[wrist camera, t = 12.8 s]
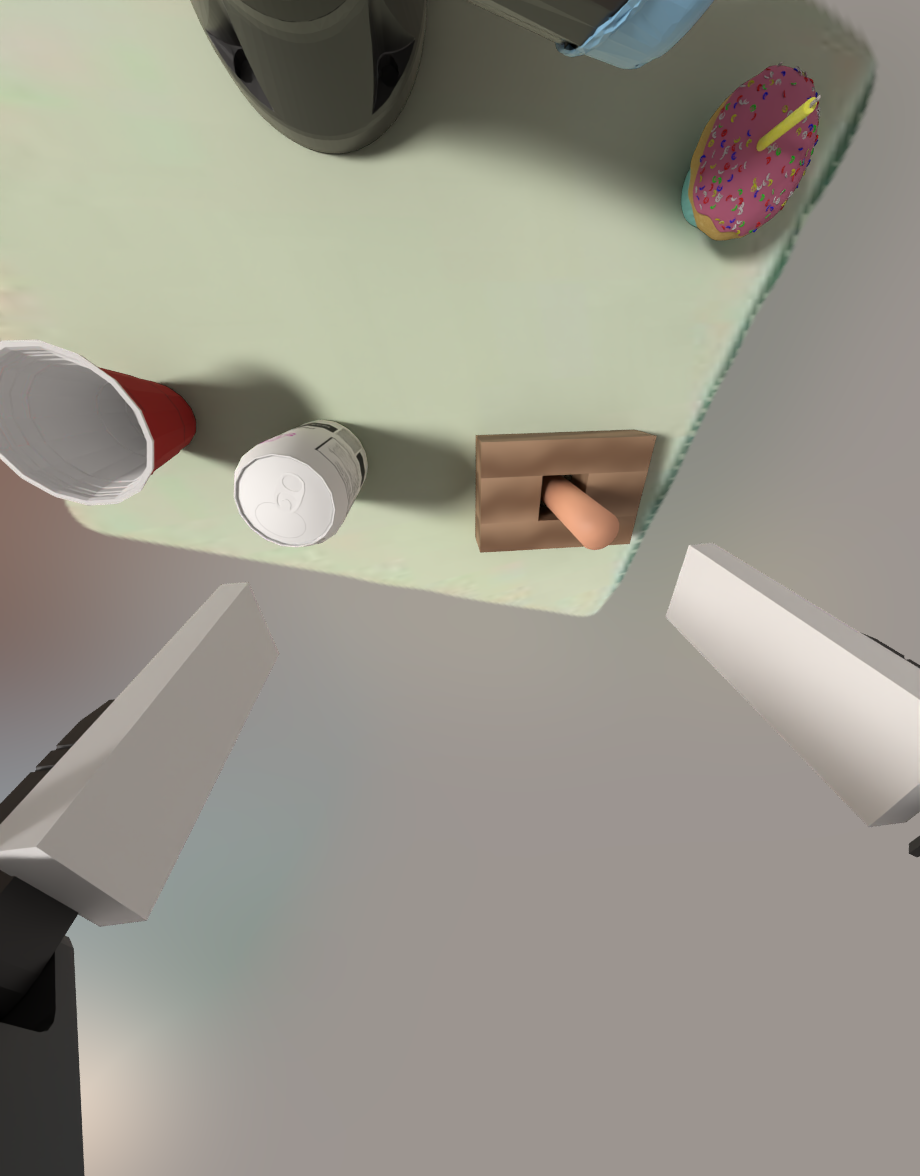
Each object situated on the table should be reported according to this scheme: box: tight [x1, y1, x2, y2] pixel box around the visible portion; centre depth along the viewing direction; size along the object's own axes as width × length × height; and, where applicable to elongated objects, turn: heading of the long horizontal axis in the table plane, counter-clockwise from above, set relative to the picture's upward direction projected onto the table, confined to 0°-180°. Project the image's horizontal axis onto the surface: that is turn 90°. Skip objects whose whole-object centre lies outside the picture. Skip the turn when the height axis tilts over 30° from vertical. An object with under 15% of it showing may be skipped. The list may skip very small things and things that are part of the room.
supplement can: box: [234, 420, 368, 547], centre depth 32 cm, size 8×8×15 cm
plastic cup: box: [0, 340, 196, 505], centre depth 30 cm, size 11×11×12 cm
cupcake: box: [681, 62, 821, 240], centre depth 25 cm, size 9×8×12 cm
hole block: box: [475, 430, 656, 552], centre depth 41 cm, size 12×18×4 cm, turn 91°
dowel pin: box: [540, 475, 619, 550], centre depth 37 cm, size 4×4×14 cm
